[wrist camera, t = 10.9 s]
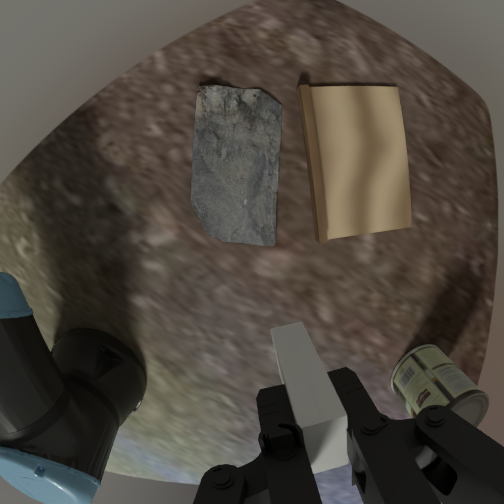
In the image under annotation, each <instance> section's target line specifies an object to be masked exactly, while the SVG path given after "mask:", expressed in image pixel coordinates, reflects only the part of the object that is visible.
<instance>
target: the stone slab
mask: <svg viewBox="0 0 504 504" xmlns="http://www.w3.org/2000/svg"><path fill="white" fill-rule="evenodd" d="M281 112H282V105H281V104H279V103H278V102H277V101H276V100H274V99H273V98H272V97H270V96H269V95H267V94H266V93H264V92H263V91H262V90H260V89H239V88H231V87H227V86H219V85H207V86H198V90H197V102H196V114H195V127H194V141H193V159H192V178H191V205H192V207H193V209H194V211H195V212H196V214H197V215H198V216H199V219H200V220H201V222H202V225H203V228H204V230H205V231H206V232H207V233H208V234H209V235H210V236H213V237H216V238H218V239H220V240H221V241H222V242H234V243H247V244H253V245H260V246H275V232H276V204H277V190H278V175H279V156H280V141H281Z"/></svg>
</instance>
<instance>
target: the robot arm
mask: <svg viewBox="0 0 504 504" xmlns="http://www.w3.org/2000/svg"><path fill="white" fill-rule="evenodd" d="M270 330H271V335H272V340H273V344H274V349H275V354H276V359H277V364H278V369H279V373H280V377H281V381H282V385H278V386H273V387H269V388H264V389H260V391H259V393H258V395H257V398H256V401H257V408H258V415H259V421H260V428H261V432H260V434H259V438H258V441H259V445H260V448H261V453H260V454H259V456H258V457H257V458H256V459H255V460H253V461H252V462H250V463H248V464H246V465H243V466H241V467H239V468H237V467H236V466H234V465H229V464H223V465H217V466H215V467H212V468H211V469H209V470H208V471H207V472H205V474H204V476H203V477H202V479H201V482H200V485H199V488H198V491H197V494H196V497H195V500H194V502H193V504H322V501H321V498H320V494H319V491H318V488H317V484H316V481H315V478H314V473H318V472H322V471H326V470H329V469H333V468H336V467H340V466H343V465H346V464H348V458H349V460H350V462H351V465H352V486H353V485H355V483H356V485H357V488H358V490H359V493H360V495H361V498H362V500H363V503H364V504H441V503H440V502H442V503H443V504H504V447H503V446H502V445H500V444H499V443H497V442H496V441H494V440H493V439H492V438H490V437H489V436H487V435H486V434H484V433H483V432H482V431H480V430H479V429H477V428H476V427H475V426H473V425H472V424H470V423H469V422H467V421H466V420H465V419H463V418H462V417H460V416H459V415H458V414H456V413H455V412H453V411H452V410H451V409H449V408H447V407H445V406H443V405H430V406H427V407H425V408H423V409H422V410H421V411H420V412H419V413H418V414H417V417H416V418H412V419H404V420H393V419H389V418H388V417H387V416H386V415H383V414H381V413H380V412H379V411H378V410H377V408H376V406H375V405H374V403H373V401H372V400H371V398H370V396H369V395H368V393H367V391H366V390H365V389H364V386H363V385H362V383H361V382H360V380H359V378H358V376H357V375H356V373H355V372H353V371H352V370H350V369H349V368H347V367H344V368H341V369H337V370H334V371H330V372H326V370H325V368H324V366H323V364H322V362H321V360H320V358H319V356H318V354H317V352H316V350H315V348H314V346H313V344H312V341H311V339H310V337H309V335H308V333H307V331H306V329H305V327H304V325H303V323H302V321H301V322H297V323H293V324H289V325H285V326H280V327H276V328H272V329H270ZM145 390H146V378H145V374H144V371H143V368H142V366H141V364H140V362H139V361H138V359H137V358H136V357H135V355H134V354H133V353H132V352H131V351H130V350H129V349H128V348H127V347H126V346H125V345H124V344H123V343H121V342H120V341H119V340H117V339H116V338H114V337H112V336H110V335H108V334H106V333H104V332H101V331H98V330H94V329H87V328H80V329H74V330H71V331H69V332H67V333H65V334H64V335H63V336H62V337H61V338H60V339H59V340H58V341H57V342H56V343H55V345H54V346H53V348H52V350H51V352H50V350H49V349H48V347H47V345H46V343H45V340H44V338H43V336H42V334H41V332H40V330H39V328H38V326H37V323H36V321H35V319H34V316H33V310H32V308H30V307H29V305H28V303H27V301H26V299H25V297H24V295H23V292H22V290H21V288H20V286H19V283H18V282H17V280H16V279H15V278H14V277H13V276H12V275H11V274H9V273H6V272H0V476H2V477H3V478H4V479H5V480H6V481H7V482H8V483H10V484H11V485H12V486H14V487H15V488H17V489H18V490H19V491H21V492H23V493H24V494H26V495H28V496H30V497H32V498H33V499H35V500H38V501H40V502H42V503H44V504H91V503H92V501H93V498H94V496H95V493H96V491H97V489H98V488H99V487H100V485H101V480H102V476H103V473H104V470H105V467H106V464H107V461H108V458H109V455H110V452H111V449H112V446H113V443H114V440H115V437H116V434H117V431H118V429H119V427H120V426H121V425H122V424H123V423H124V421H125V420H126V419H127V417H129V416H130V415H132V414H133V413H134V412H135V411H136V410H137V409H138V408H139V406H140V404H141V402H142V400H143V397H144V394H145Z"/></svg>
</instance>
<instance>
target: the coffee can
mask: <svg viewBox="0 0 504 504" xmlns="http://www.w3.org/2000/svg"><path fill="white" fill-rule="evenodd" d="M391 387H392V389H393V391H394V392H395V393H396V394H397V396H398V397H399V399H400V400H401V402H402V403H403V405H404V406H405V408H406V409H407V411H408V412H409V414H410V415H411V417H412V418H416V417H417V414H418V413H419V412H420V411H421V410H422V409H423V408H425V407H427V406H430V405H443V406H445V407H447V408H449V409H451V410H452V411H453V412H455V413H456V414H458V415H459V416H460V417H462V418H463V419H465V420H466V421H467V422H469V423H470V424H472V425H473V426H475V427H477V426H478V425H479V424H480V422H481V421H482V419H483V418H484V416H485V414H486V412H487V410H488V406H489V398H488V396H487V394H485V393H484V392H483V391H481V390H480V389H479V388H478V387H477V386H476V385H475V384H474V383H473V382H472V381H471V380H470V379H469V378H468V377H467V376H466V375H465V374H464V373H463V372H462V371H461V370H460V369H459V368H458V367H457V366H456V365H455V364H454V363H453V362H452V361H451V360H450V359H449V358H448V357H447V356H446V355H445V354H444V353H443V352H442V351H441V349H440V348H439V347H437V346H435V345H432V344H426V345H422V346H419V347H417V348H414V349H413V350H411V351H410V352H408V353H407V354H406V355H405V356H404V357H403V358H402V359H401V360H400V361H399V362H398V364H397V365H396V367H395V369H394V371H393V373H392V377H391Z"/></svg>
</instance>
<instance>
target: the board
mask: <svg viewBox="0 0 504 504" xmlns="http://www.w3.org/2000/svg"><path fill="white" fill-rule="evenodd" d="M296 90H297V96H298V102H299V109H300V115H301V122H302V129H303V136H304V143H305V151H306V158H307V166H308V174H309V183H310V191H311V200H312V210H313V219H314V230H315V240H316V241H317V242H318V243H327V242H328V239H333V238H340V237H346V236H353V235H360V234H367V233H374V232H380V231H387V230H394V229H401V228H408V227H412V224H411V200H410V183H409V171H408V160H407V150H406V141H405V133H404V126H403V118H402V112H401V105H400V99H399V94H398V88H397V87H385V86H326V87H309V85H299V87H298V88H297V89H296Z"/></svg>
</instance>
